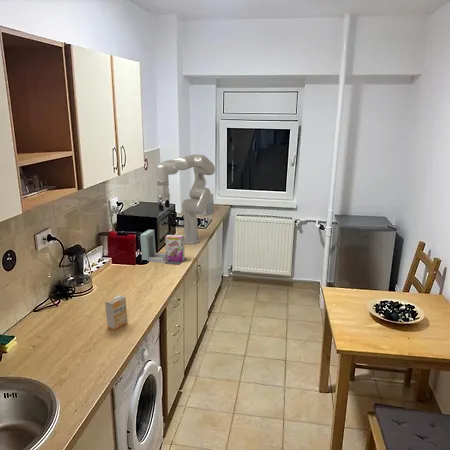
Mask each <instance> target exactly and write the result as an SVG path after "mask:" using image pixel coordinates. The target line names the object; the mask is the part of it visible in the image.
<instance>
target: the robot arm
mask: <svg viewBox="0 0 450 450" xmlns="http://www.w3.org/2000/svg"><path fill="white" fill-rule="evenodd" d="M192 168H193V173H194V181H193V184H192V185H191V188H190V190H189V197H190V198H186V199H184V200H183V201H182V203H181V210H182V213H183V227H184V230H183V231H184V244H187V245H193V244H194V245H195V244H198V243H200V242H201V239H200V238H199V232H198V231H199V230H198V215H200V214H202V213H203V212H204V211H205V209H206V207H207V204H208V202H209V200H210V197H211V192H212V191H211V190H210V188H208V187H206V185H207V181H206V177H205V176H212V175H214V174H215V171H216V166H215V164H214V163H213V162H212V161H211V160H210V159H209V158H208V157H207V156H205V155H204V154H195V153H194V154H190V155H186V156H183V157H178V158H174V159H168V160H167V159H166V160H164V161H162V162H159V164H157V165H155V171H156V186H157V187H156V201H157V204H158V211H159V212H164V211H165V210H164V209H165V208H170V207H171V206H170V201H171V200H170V199H171V197H170V196H171V194H170V187H169V186H170V185H169V181H170V180H169V176H170V175H176V174H177V173H179V171H185V170H190V169H192ZM191 198H192V199H191ZM193 199H196V200H193ZM195 213H196V214H195Z"/></svg>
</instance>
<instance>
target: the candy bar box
mask: <svg viewBox="0 0 450 450" xmlns="http://www.w3.org/2000/svg"><path fill="white" fill-rule="evenodd" d="M164 239H165V240H164V241H165V254H166V262H167V261H179V262H182V263H183V262H184V261H185V260H186V259H185V258H186V257H185V243H184V239H185V235H183V234H181V235H179V234H167V235H165V236H164ZM184 259H185V260H184Z"/></svg>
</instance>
